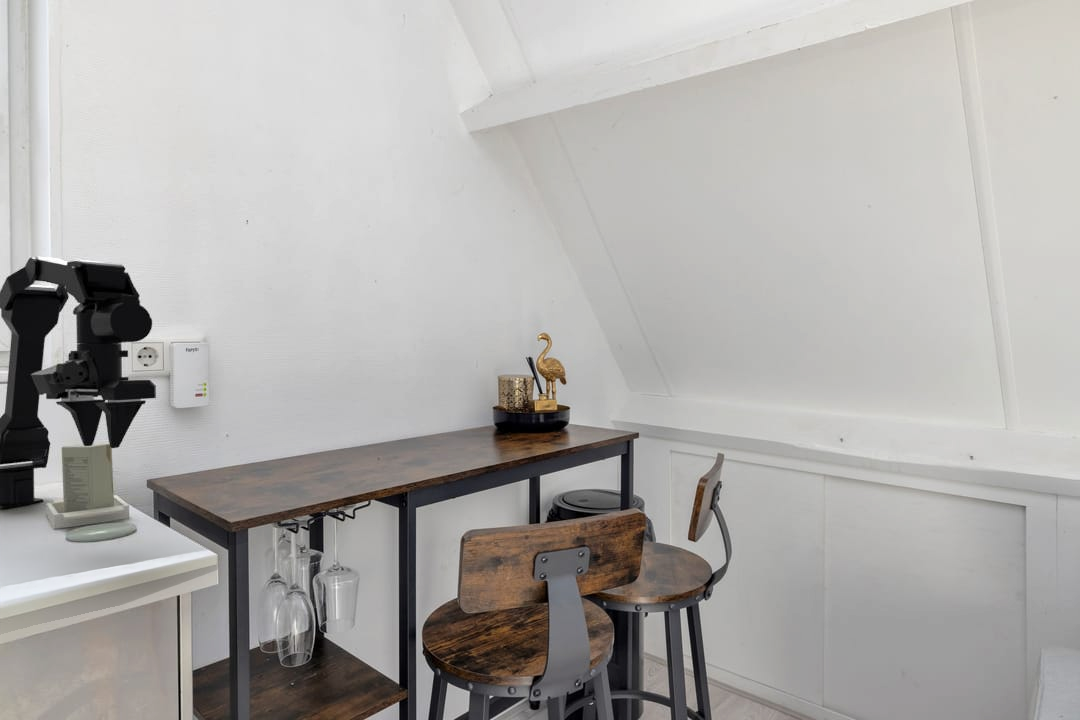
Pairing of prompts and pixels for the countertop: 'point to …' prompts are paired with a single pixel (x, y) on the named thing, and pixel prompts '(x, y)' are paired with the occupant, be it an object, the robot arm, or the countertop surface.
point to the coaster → (100, 532)
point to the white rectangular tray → (85, 514)
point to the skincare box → (87, 477)
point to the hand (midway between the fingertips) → (101, 446)
